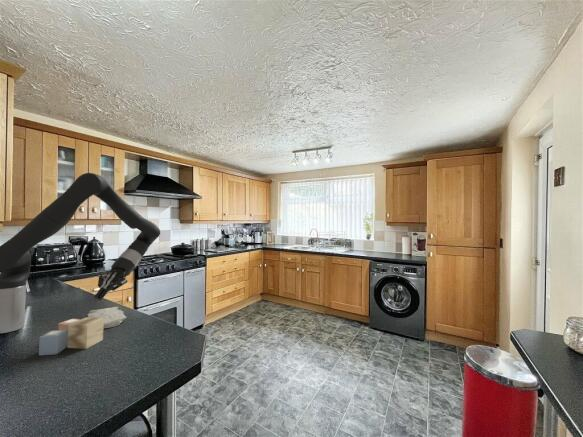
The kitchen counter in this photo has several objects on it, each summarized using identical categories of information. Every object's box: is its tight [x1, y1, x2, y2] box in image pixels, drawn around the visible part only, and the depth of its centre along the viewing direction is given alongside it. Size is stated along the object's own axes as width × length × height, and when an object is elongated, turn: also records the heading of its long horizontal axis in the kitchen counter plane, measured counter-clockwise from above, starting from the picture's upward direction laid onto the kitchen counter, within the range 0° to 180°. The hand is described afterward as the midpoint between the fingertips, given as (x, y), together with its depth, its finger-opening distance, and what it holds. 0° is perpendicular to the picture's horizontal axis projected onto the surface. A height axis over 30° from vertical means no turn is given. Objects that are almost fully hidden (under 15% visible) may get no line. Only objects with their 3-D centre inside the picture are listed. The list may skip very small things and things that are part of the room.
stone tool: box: [87, 306, 127, 330], centre depth 113 cm, size 13×4×25 cm
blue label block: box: [38, 329, 68, 356], centre depth 85 cm, size 5×5×6 cm
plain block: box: [66, 316, 104, 350], centre depth 90 cm, size 7×7×8 cm
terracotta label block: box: [57, 318, 81, 342], centre depth 95 cm, size 5×5×6 cm
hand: (97, 298), depth 94 cm, fingers closed
